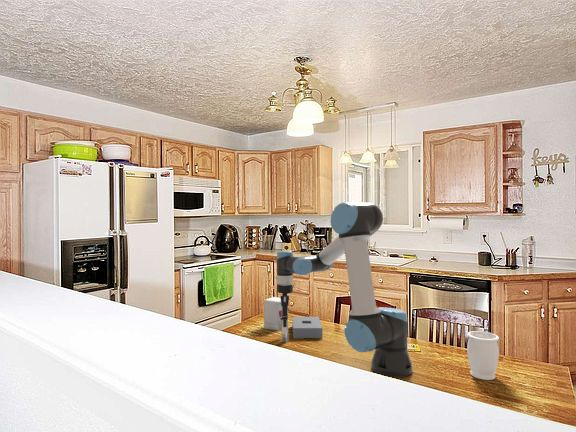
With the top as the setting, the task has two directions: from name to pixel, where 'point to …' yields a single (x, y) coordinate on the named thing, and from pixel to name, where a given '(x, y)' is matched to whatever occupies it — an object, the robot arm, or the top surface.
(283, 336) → the steel pin
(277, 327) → the supplement box
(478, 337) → the jar
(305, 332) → the hole block
